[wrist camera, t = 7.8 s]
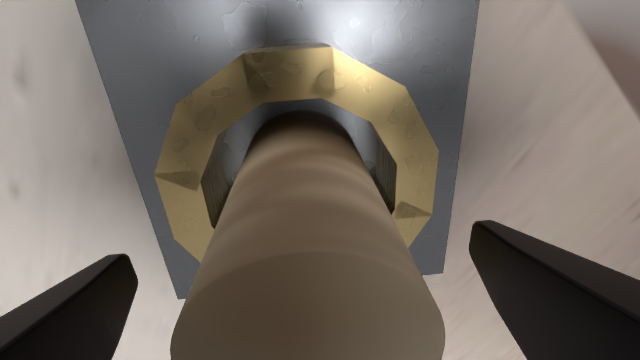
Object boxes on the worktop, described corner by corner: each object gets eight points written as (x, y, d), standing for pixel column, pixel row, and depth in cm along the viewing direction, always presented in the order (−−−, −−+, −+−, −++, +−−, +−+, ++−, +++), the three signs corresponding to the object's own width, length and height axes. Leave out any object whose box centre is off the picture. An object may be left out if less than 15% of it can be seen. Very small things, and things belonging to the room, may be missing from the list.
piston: (357, 105, 13) (462, 236, 5) (358, 208, 15) (431, 423, 7) (237, 114, 13) (131, 266, 5) (254, 217, 15) (203, 448, 7)
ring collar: (470, -36, 12) (547, -65, 8) (435, 261, 18) (470, 319, 14) (87, -12, 11) (-10, -31, 8) (184, 285, 17) (154, 352, 14)
